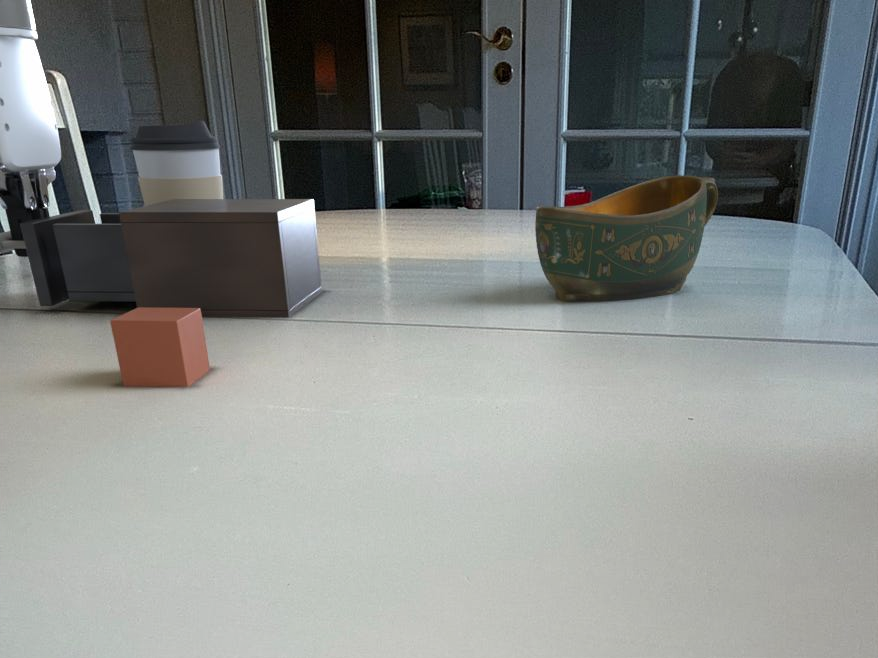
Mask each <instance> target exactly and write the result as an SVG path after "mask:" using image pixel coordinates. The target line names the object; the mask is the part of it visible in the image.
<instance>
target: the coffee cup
mask: <svg viewBox="0 0 878 658" xmlns="http://www.w3.org/2000/svg"><path fill="white" fill-rule="evenodd" d="M130 141H131V146H130V151H132V153H133V157H134V162H135V164H136V165H135V166H136V169H137V173H138V176H137V180H138V185H139V188H140V192H141V196H142V200H143V204H144V206H147V205H152V204H156V203H160V202H165V201H169V200H173V199H224V185H223V175H222V174H221V161H220V149H221V146H220V144H219V143H218V138H217V136H215V135H214V136H213V135H212V134H211V132H210V130H209V128H208V127H207V124H206V123H205V121H204V120H194V121H192V122H190V123H189V124H161V125H160V124H159V125H157V124H156V125H139V126H138V129H137V133H136V135H135V137H131V139H130Z"/></svg>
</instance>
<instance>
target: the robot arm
mask: <svg viewBox="0 0 878 658" xmlns="http://www.w3.org/2000/svg"><path fill="white" fill-rule="evenodd" d="M32 7H33V6H32V2H31V0H0V207H1V208H2V209H4V211H5V214H6V218H7V224H8V227H9V231H10V232H11V237H12V241H24V238H23V234H22V230H21V226H20V223H22V222H27V221H31V220H36V219H41V218H46V217H51V216H50V212H49V207H50V195H49V188H48V186H49V185H50V184H52V183H53V182H54V181H55V180H56V171H55V167H56V166H57V165H58V164H59V163H60V161H61V160H62V148H61V141H60V136H59V130H58V125H57V120H56V116H55V112H54V111H55V110H54V106H53V102H52V99H51V94H50V91H49V90H50V89H49V87H48V83H47V79H46V75H45V71H44V68H43V64H42V61H41V57H40V54H39V51H38V48H37V45H36V42H35V40H39V36H38V32H37V27H36V22H35V16H34V12H33V8H32ZM13 251H14V253H15V255H16V256H17V257H21V258H23V257H24V258H28V255H27V250H26V249H14V250H13Z"/></svg>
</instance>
